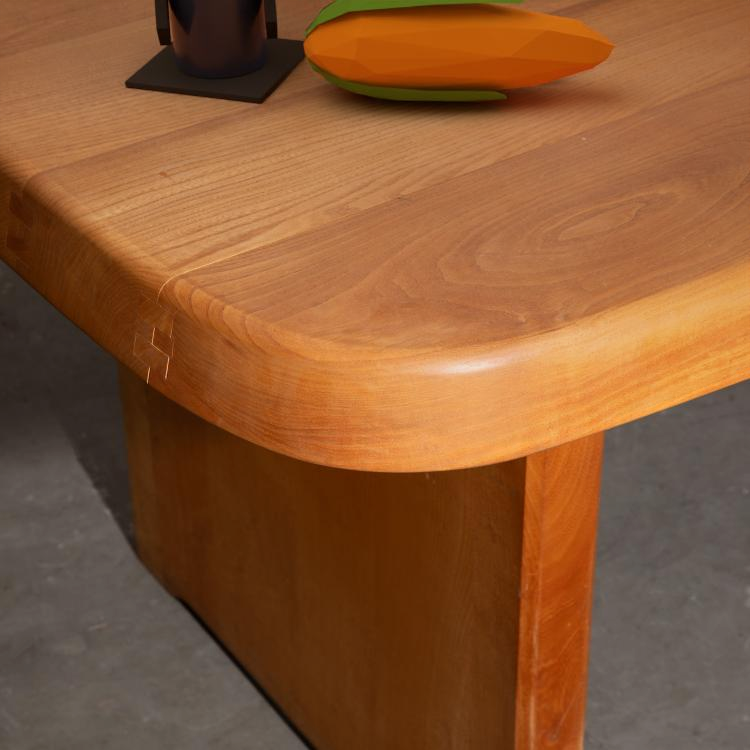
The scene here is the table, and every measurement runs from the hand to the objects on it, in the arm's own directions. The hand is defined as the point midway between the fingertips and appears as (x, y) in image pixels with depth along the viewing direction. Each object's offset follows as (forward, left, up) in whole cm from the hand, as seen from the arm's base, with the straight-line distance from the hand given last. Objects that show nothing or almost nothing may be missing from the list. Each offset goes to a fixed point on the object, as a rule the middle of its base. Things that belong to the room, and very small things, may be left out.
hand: (218, 33), depth 96 cm
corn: (-16, -3, -4) cm, 16 cm away
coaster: (+1, -3, -4) cm, 5 cm away
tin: (+1, -3, -3) cm, 5 cm away
